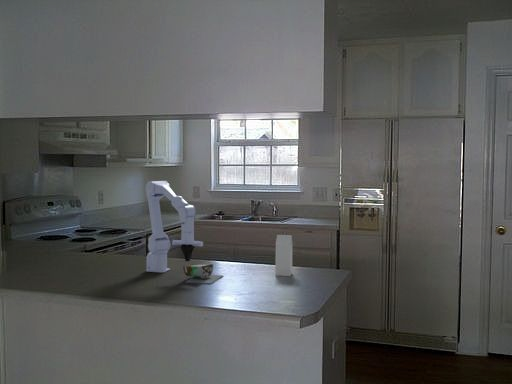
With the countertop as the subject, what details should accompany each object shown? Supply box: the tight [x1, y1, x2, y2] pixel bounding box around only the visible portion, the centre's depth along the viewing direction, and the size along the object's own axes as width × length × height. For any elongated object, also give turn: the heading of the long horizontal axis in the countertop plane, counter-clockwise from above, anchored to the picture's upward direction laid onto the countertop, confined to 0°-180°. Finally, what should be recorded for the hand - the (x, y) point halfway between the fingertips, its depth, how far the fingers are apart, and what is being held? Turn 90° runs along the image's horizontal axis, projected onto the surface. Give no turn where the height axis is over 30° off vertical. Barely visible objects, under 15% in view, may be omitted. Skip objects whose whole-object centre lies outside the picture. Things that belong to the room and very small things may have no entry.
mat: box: [185, 274, 224, 285], centre depth 243 cm, size 12×16×1 cm
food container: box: [182, 263, 214, 279], centre depth 244 cm, size 12×6×10 cm
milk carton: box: [274, 234, 294, 277], centre depth 254 cm, size 7×7×19 cm
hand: (187, 261), depth 245 cm, fingers closed
